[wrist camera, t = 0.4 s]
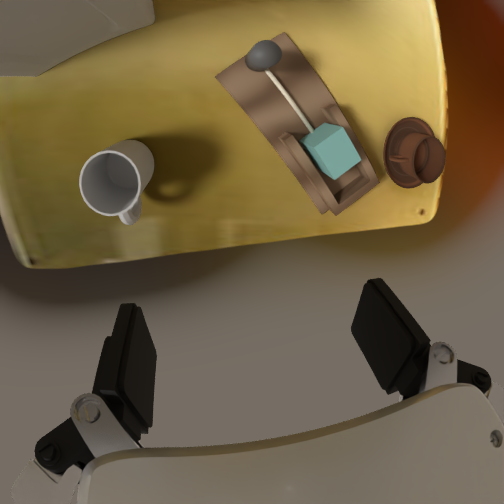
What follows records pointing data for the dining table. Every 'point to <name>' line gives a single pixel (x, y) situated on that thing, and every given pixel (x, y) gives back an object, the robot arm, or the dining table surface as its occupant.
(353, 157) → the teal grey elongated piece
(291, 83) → the lane
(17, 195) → the dining table surface
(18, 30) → the tall white carton
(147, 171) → the cup
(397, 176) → the cup and saucer
